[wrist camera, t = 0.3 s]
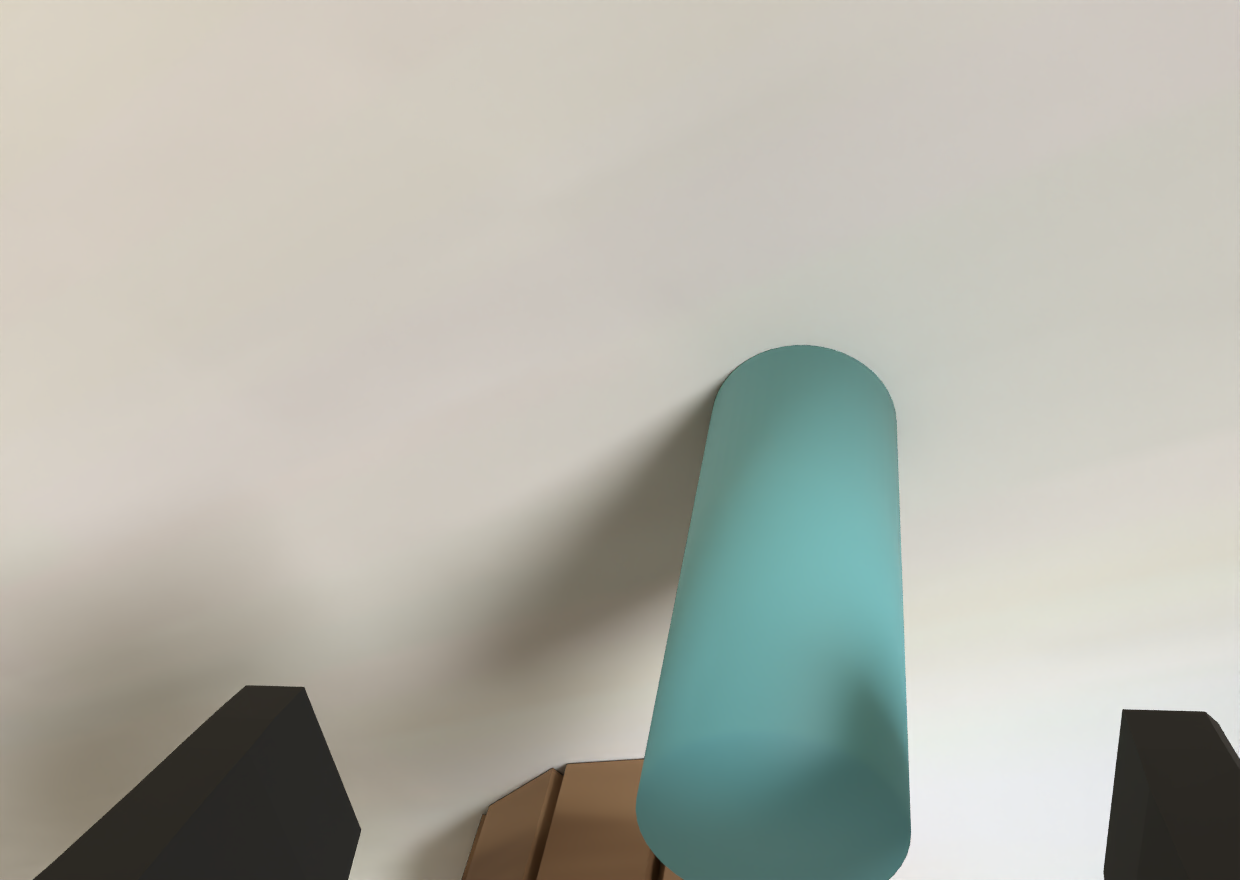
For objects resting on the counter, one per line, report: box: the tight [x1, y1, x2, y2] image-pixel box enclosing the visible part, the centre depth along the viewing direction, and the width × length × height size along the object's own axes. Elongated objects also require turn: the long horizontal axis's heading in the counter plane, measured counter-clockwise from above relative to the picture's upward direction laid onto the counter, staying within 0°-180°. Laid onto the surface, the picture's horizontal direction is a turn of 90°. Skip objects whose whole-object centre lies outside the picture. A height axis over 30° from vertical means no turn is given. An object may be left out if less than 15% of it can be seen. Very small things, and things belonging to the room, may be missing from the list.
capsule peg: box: [636, 345, 911, 880], centre depth 16 cm, size 3×3×8 cm
